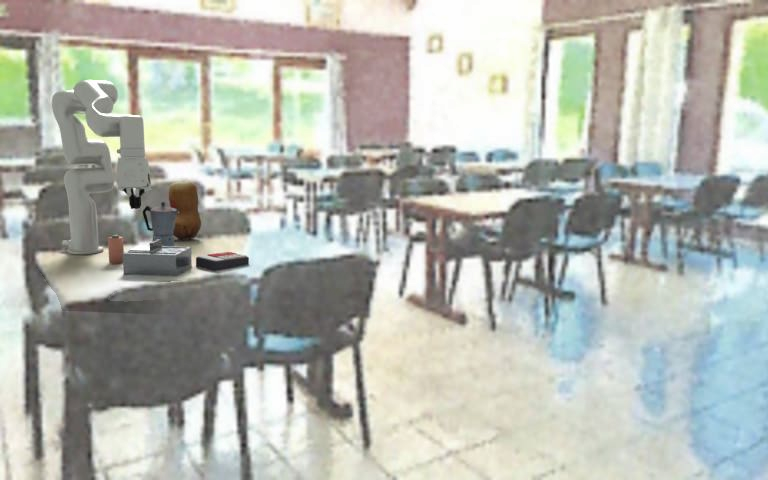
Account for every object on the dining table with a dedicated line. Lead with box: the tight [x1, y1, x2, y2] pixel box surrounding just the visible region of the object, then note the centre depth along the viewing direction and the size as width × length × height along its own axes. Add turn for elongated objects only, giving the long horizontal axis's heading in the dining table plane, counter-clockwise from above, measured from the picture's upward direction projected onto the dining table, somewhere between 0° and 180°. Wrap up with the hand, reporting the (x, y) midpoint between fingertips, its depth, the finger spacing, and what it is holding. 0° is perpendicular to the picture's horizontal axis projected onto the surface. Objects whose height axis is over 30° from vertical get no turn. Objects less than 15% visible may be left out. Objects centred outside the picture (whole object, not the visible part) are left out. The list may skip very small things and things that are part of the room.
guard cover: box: [128, 239, 163, 252], centre depth 227 cm, size 8×8×3 cm
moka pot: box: [142, 201, 179, 246], centre depth 252 cm, size 10×15×20 cm, turn 78°
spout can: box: [107, 234, 125, 265], centre depth 238 cm, size 5×6×10 cm
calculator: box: [195, 251, 250, 272], centre depth 237 cm, size 11×4×15 cm
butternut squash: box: [168, 179, 202, 241], centre depth 281 cm, size 14×13×25 cm
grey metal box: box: [122, 245, 193, 277], centre depth 228 cm, size 18×14×7 cm
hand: (135, 208), depth 225 cm, fingers closed
